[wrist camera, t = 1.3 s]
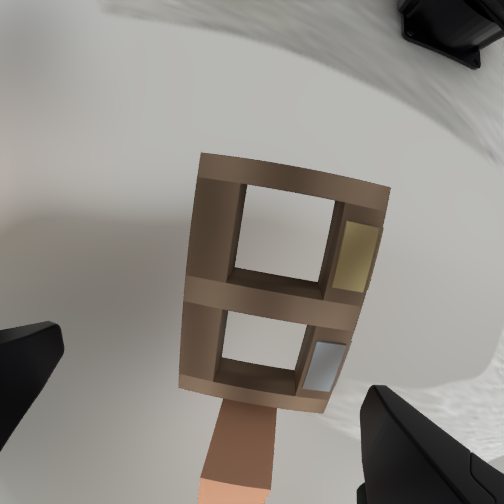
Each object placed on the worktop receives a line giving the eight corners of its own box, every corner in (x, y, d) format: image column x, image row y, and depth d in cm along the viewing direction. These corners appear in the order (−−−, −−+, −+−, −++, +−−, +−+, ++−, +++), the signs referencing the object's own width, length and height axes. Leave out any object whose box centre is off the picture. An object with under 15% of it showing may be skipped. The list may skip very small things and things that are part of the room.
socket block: (377, 186, 17) (395, 188, 14) (322, 387, 21) (326, 415, 18) (213, 156, 18) (199, 152, 15) (190, 364, 22) (177, 389, 19)
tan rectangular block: (277, 396, 22) (270, 489, 13) (267, 428, 23) (258, 514, 14) (226, 387, 22) (200, 477, 13) (221, 420, 23) (198, 504, 14)
